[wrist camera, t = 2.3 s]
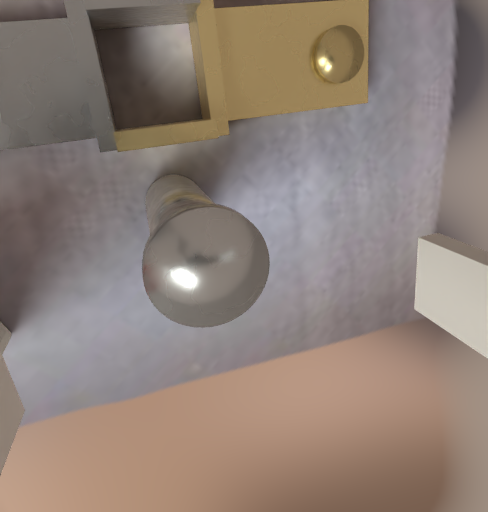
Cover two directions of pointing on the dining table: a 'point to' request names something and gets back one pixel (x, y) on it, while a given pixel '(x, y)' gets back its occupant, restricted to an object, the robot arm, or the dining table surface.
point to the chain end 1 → (68, 70)
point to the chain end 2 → (267, 66)
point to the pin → (200, 256)
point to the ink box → (4, 337)
